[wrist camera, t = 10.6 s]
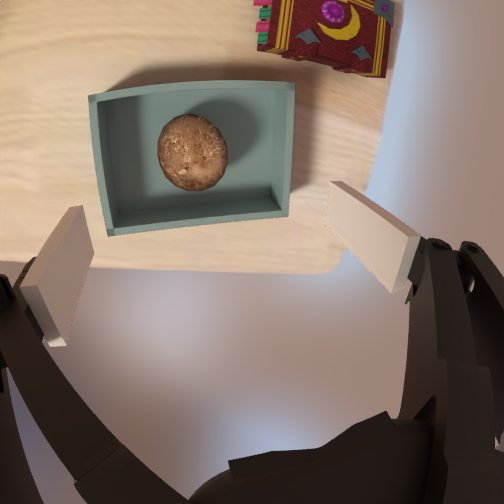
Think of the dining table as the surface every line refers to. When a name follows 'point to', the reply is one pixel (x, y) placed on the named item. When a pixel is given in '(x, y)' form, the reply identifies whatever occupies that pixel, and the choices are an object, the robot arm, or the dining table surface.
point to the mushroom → (192, 153)
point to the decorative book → (329, 32)
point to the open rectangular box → (231, 128)
